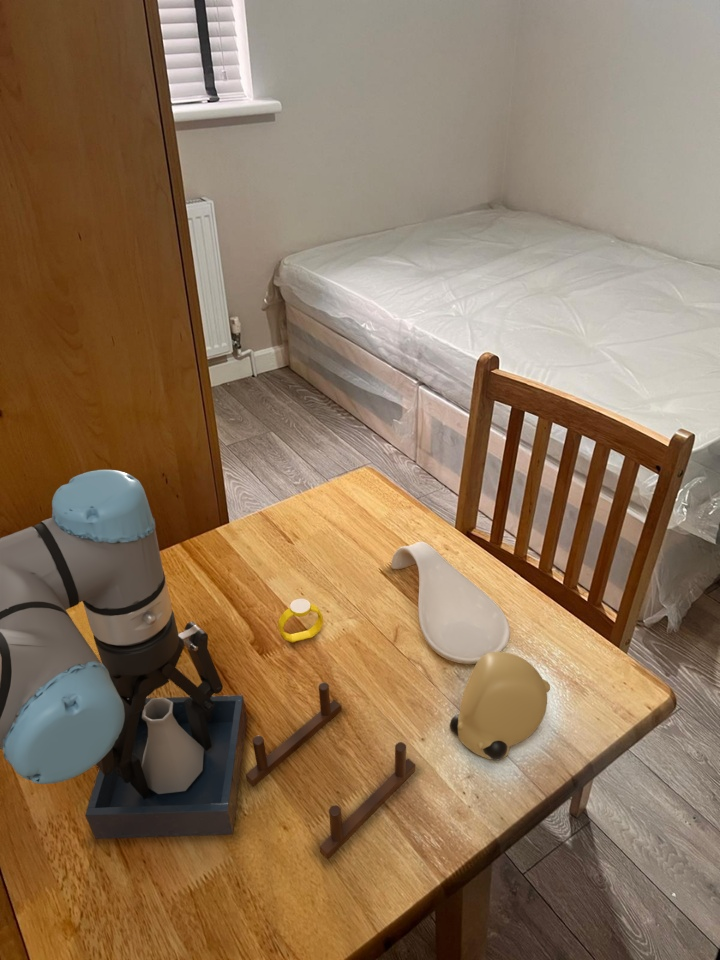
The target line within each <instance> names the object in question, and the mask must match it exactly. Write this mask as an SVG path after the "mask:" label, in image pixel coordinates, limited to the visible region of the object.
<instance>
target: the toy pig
mask: <svg viewBox="0 0 720 960" xmlns="http://www.w3.org/2000/svg"><path fill="white" fill-rule="evenodd" d="M550 690H551V684H550V683H549V682H548V681H547V680H546V679H544V678H543V677H542V676H541V674H540V673H539V671H538V670H537V668H536V667H534V666H533V665H532V664H531V663H530V662H529V661H527V659H525V658H523V657H522V656H519V655H517V654H514V653H511V652H505V651H501V652H490V653H487V654H485V655H483V656H482V657H481V658H480V659H479V660H478V662H477V663H475V665H474V666H473V669H472V670H471V673H470V675H469V678H468V680H467V682H466V685H465V687H464V690H463V693H462V696H461V702H460V706H459V707H460V708H459V713H458V714H455V715H454V716H453V717H452V718H451V720H450V722H449V730H450V731H451V733H452V734H453V735H454V736H455V737H457V738H458V739H459V741H460V742H461V743H462V744H463V745H464V746H465V747H466V748H467V749H468V750H469V751H471V752H473V753H474V754H476V755H478V756H480V757H483V758H485V759H488V760H493V761H499V760H502V759H504V758H506V757H507V756H509V753H510V747H512V746H514V745H516V744H519V743H521V742H523V741H525V740H526V739H528V738H529V737H530V736H532V735H533V733H534V732H536V731H537V729H538V728H539V726H540V725H541V723H542V722H543V720H544V717H545V714H546V711H547V708H548V707H547V706H548V692H550Z"/></svg>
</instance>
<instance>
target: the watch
mask: <svg viewBox="0 0 720 960" xmlns="http://www.w3.org/2000/svg"><path fill="white" fill-rule="evenodd" d="M310 612H313V613H316V615H317V619H316V620H315V622H314V624H313V625H312V626H311V627H310V628H309V629H307V630H303V631H299V632H294V633H289V632H286V631H284V629H285V625H286V623H287V622H288V620H289V619H291V618H292V617H293V616H296V617H305V616H307V615H309V614H310ZM323 625H324V616H323V613H322V612H321V610H320V608H319V607H318V606H317V605H316V604H315V603H311V602H310V601H309V600H307V599H306V598H296V599H293V600H292V601H291V603H290V604H289V607H288V608H287V609H286V610H284V611H283V612H282V614H281V615H280V617H279V619H278V625H277V628H278V630H279V633H280V635H281V636H282V638H283V640H284V641H287V642H289V643H295V642H299V641H303V640H307V639H312V638H314V636H316V635H317V634H319V632H320V631H321V629H322V627H323Z"/></svg>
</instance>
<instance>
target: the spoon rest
mask: <svg viewBox="0 0 720 960" xmlns="http://www.w3.org/2000/svg"><path fill="white" fill-rule="evenodd" d="M390 563H391V564H390V567H391V569H393V570H401V569H405V568H408V567H410V566H414V565H416V566H417V569H418V579H419V580H418V583H419V584H418V585H419V586H418V599H417V601H418V605H417V607H418V608H417V609H418V611H417V612H418V621H419V627H420V631H421V634H422V636H423V638H424V640H425V642H426V644H427V645H428V646H429V647H430V649H432V650H433V651H434V652H435V653H436V654H437V655H439V656H440V657H442V658H444V659H445V660H448V661H450V662H453V663H456V664H457V663H458V664H467V665H472V664H477V662H478V660H479V659H480V658H481V657H482V656H483V655H485V654H487V653H490V652H503V650H504V649H505V648H506V647H507V646H508V644H509V641H510V638H511V629H510V628H511V626H510V624H509V620H508V618H507V616H506V614H505V612H504V611H503V610H502V608H501V607H500V606H499V605H498V604H497V603H496V602H495V600H494V599H493V598H491V596H489V595H488V594H487V593H486V592H485V591H484V590H483V589H481V588H480V587H479V586H477V584H475V583H474V582H472V580H470V578H468V577H466V576H465V575H464V574H463V573H462V572H460V571H459V570H458V569H457V568H456V567H455V566H453V565H452V564H451V563H450V562H449V561H447V560H446V559H445V557H444V556H442V554H440V553H439V551H437V549H435V548H434V547H432V545H430V544H428V543H427V542H425V541H417V542H415V543H413V544H410V545H403V546H400V547H399V548H398V549H396V551H395V552H394V554H393V555H392V558H391V562H390Z"/></svg>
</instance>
